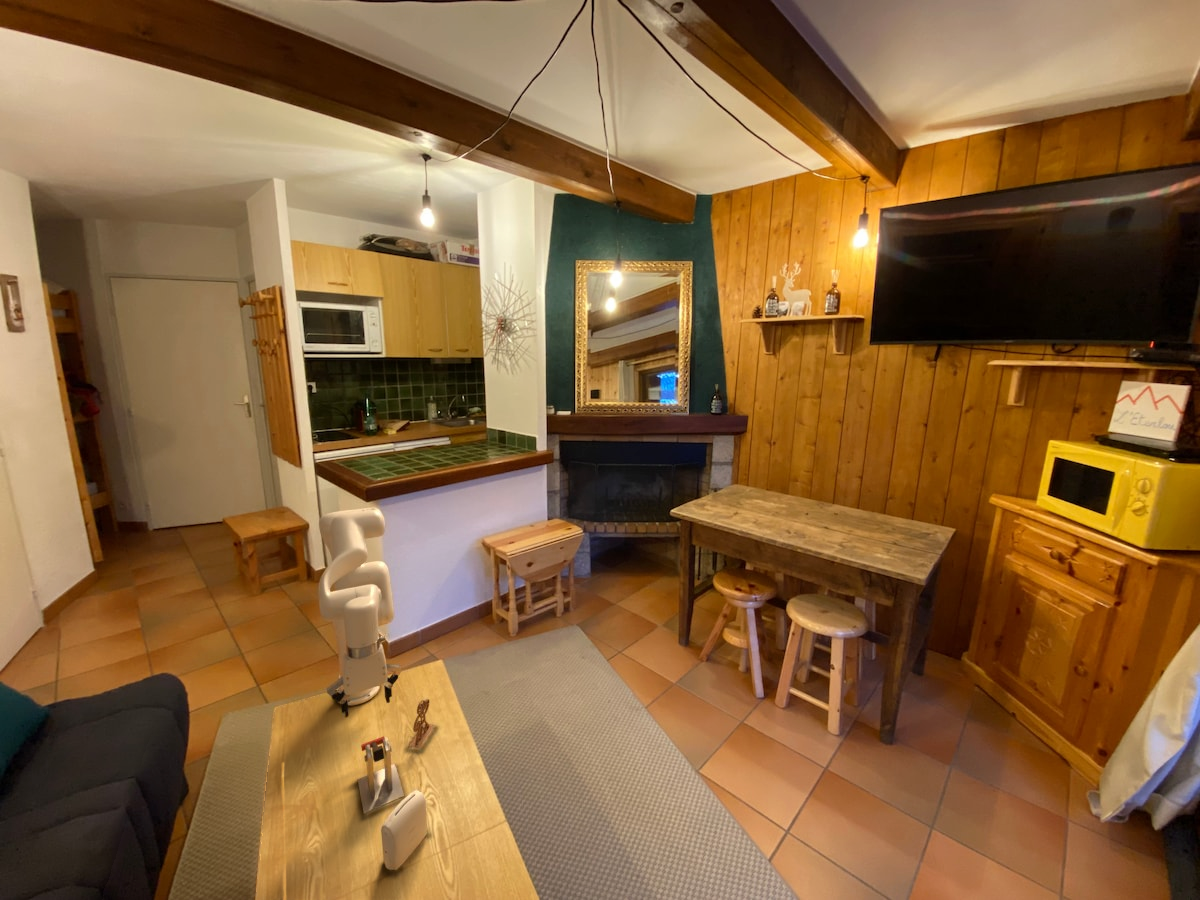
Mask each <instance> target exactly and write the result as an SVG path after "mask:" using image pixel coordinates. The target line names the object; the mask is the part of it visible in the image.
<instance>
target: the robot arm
mask: <svg viewBox="0 0 1200 900" xmlns="http://www.w3.org/2000/svg"><path fill="white" fill-rule="evenodd" d="M318 529H319V533H320V536H321V539H322V541H323V542H324V544H325V546H326V547H327V549H328V551H329V553H330V557H331V562H330V563H329V564H328V566H326V568H324V569H325V570H324V571H323V573H322V574H321V576H320V578H319V581H318V582H319V583H318V589H317V593H318V606H319V613H320V617H321V618H322V619H323V621H325V622H328V623H332V625H333V629H334V633H335V637H336V645H337V656H338V666H339V668H338V669H339V675H338V676H337V680H335V681H334V682H333V683H331V684H330V685H329V686H327V687H326V693H327V695H329V697H331V699H332V700H333V701H336V702H337V703H338V704H340V711H341V714H344V716H345V718H348V717H349V716H350V715H349V706H357V705H360V704H363V703H366V702H368V701H370V700H371V699H373V698H374V697H375V696H376V695H377V694H378V692H379V691H380V689H381V688H380V687H381V686H383V689H384V699H385V702H386V704H389V703H391V700H390V699H391V698H392V697H393V692H392V691H393V690H392V689H393V687H394V684H395V683H396V682H397V680H399V676H400V674H401V672H402V670H403V668H402V666H401V664H400V665H399V664H391V663H387V660H386V655H385V654H386V653H385V650H384V646H383V643H385V642H386V641H387V639H386V636H385V635H384V636H381V635H380V631H379V629H380V628H379V627H381V626H386V625H388V624H390V623H392V621H393V620H394V617H395V605H394V597H393V590H392V582H391V576H390V571H389V567H388V565H387V564H386V563H385V562H384V561H381V560H376V561H375V560H374V561H369V562H366V561H367V560H368V557H369V553H368V551H369V550H368V546H367V541H366V539H368V540H369V539H374V538H380V537H382V536H383V535H384V534H385V533H386V519H385V517H384V514H383V512H382V511H381V510H380V509H379V508H377V507H374V506H372V507H363V508H355V509H345V510H338V511H333V512H328V513H325V514H324V515H322V516H321V517H320V518H319V520H318ZM332 586H334V590H333V591H331V588H332ZM388 672H393V673H391V675H390V676H388ZM336 690H337V691H336ZM338 690H339V691H338Z"/></svg>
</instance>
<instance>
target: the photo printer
mask: <svg viewBox="0 0 1200 900" xmlns="http://www.w3.org/2000/svg"><path fill="white" fill-rule="evenodd" d="M427 816H428V814H427V799H426V797H425V794H423V792H422V791H419V790H418V789H417V790H414V791H412V792H411V793H409V794H408V795H407V796H405V798H403V799H402V800H401V801H400V802H399V803H398V804H397V805H396V806H395V808H394V809H392V811H391V812H390V814H389V815H388V816H387V817H386V818H385V820H384V822H383V824H382V826H381V829H380V833H381V834H380V835H381V846H382V859H383V860H382V861H383V864H384V866H385V868H386V869H387V870H390V871H393V870H394V871H397V870H398V869H399V868H400V867H401V866H402V865H403V864H404V863H405V862H406V860H407V859H408V858H409V857H410V856H411V855H412V853H414V851H415V850H416V849H417V848H418V846H419V845H420V844H421V843H422V841H424V839H425V837H426V835H428V817H427Z"/></svg>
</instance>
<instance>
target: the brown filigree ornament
mask: <svg viewBox="0 0 1200 900" xmlns="http://www.w3.org/2000/svg"><path fill="white" fill-rule="evenodd" d="M429 707H430V699H428V698H426V699H421V700H420V701H419V702H418V705H417V708H416V714H417V716H416V718H415V720H414V723H413V729H412V731H413V733H416V735H415V736H414V737H413V739H412V741H411V742H410V744H409V745H408V747H410V748H415V749H421V748H422V746H423V745H424V744H425V742H426V740H427V739H428V737H429V736H430V734H432V731H433V730H434V729H435V727H436V725H435V724H429V722H428V721H427V719H426V718H427V717H426V714H427V713H428V711H429ZM419 719H420V720H419Z"/></svg>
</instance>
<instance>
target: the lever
mask: <svg viewBox="0 0 1200 900" xmlns="http://www.w3.org/2000/svg"><path fill="white" fill-rule="evenodd" d="M384 738H385V736H384V735H383V736H381V737H378V738H375V739H372V740H369V741H368V742H365V743H362V744H361V745H360V747H361V751H362V752H364V751H366V749H365V746H366V745H369V744H370V748H371V752H372V756H373V763H376V762H379V761H381V760H384V751H383V739H384Z"/></svg>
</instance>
